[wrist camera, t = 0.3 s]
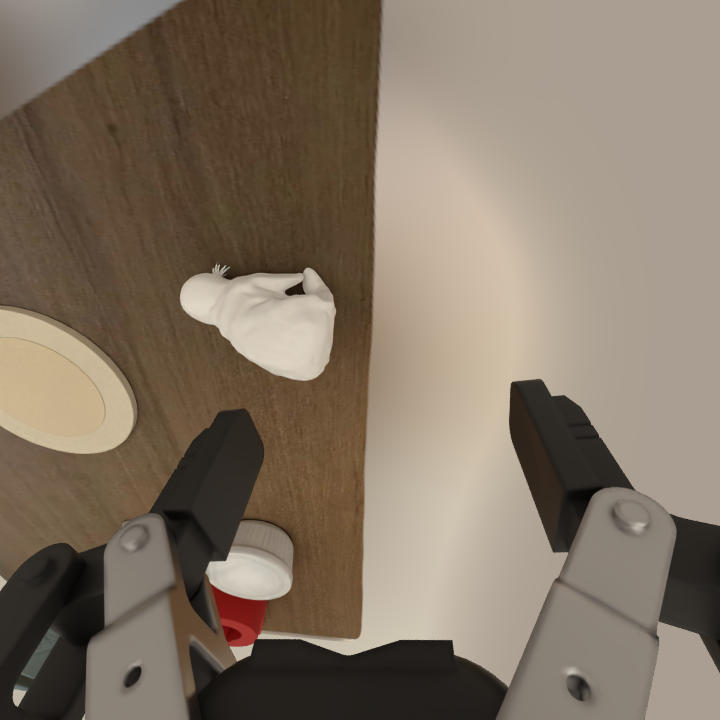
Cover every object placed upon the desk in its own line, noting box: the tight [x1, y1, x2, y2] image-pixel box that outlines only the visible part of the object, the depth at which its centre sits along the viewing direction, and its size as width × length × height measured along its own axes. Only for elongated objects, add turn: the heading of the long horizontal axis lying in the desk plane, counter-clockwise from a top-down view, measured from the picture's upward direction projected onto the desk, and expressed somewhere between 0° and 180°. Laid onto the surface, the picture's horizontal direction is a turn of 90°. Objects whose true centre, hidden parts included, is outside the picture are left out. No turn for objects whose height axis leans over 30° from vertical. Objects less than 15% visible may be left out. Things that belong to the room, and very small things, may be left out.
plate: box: [0, 305, 138, 454], centre depth 37 cm, size 18×18×1 cm
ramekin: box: [205, 520, 293, 600], centre depth 48 cm, size 11×11×5 cm
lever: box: [210, 583, 268, 647], centre depth 57 cm, size 18×9×7 cm, turn 2°
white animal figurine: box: [180, 264, 336, 381], centre depth 27 cm, size 6×8×12 cm
